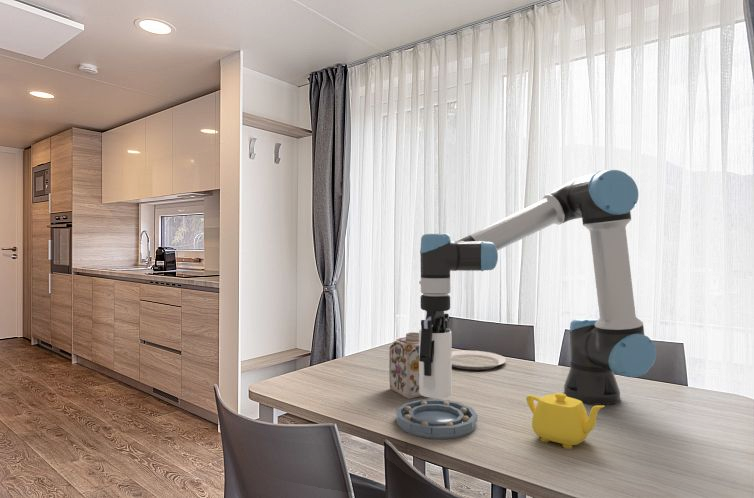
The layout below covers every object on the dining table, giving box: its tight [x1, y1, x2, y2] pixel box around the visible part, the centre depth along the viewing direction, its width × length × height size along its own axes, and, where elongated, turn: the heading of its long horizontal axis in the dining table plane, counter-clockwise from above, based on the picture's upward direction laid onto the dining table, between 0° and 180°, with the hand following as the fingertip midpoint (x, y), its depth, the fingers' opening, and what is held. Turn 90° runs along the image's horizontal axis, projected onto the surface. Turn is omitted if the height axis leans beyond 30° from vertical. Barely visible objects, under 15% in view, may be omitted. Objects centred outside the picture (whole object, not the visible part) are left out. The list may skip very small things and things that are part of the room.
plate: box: [452, 349, 507, 371], centre depth 178 cm, size 26×26×2 cm
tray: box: [395, 398, 478, 440], centre depth 118 cm, size 20×20×3 cm
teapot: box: [526, 392, 606, 450], centre depth 107 cm, size 18×11×11 cm, turn 46°
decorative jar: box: [388, 332, 423, 400], centre depth 143 cm, size 12×12×18 cm
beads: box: [404, 401, 469, 426], centre depth 118 cm, size 17×17×2 cm
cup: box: [418, 328, 453, 399], centre depth 118 cm, size 8×8×16 cm
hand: (435, 383), depth 118 cm, fingers closed on cup, 8 cm apart
